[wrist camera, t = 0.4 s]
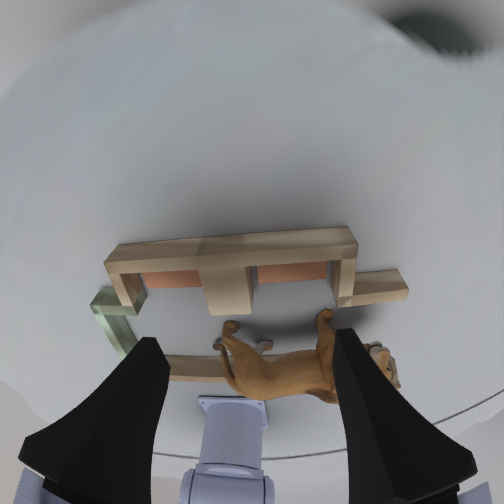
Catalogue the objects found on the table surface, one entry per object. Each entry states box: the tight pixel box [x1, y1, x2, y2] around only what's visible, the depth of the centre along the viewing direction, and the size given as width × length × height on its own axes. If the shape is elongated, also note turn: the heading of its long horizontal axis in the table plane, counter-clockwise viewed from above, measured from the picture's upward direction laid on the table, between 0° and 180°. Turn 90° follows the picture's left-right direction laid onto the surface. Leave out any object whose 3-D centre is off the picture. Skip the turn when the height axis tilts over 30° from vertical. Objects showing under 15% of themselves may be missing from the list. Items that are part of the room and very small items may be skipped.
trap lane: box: [90, 227, 409, 383], centre depth 21 cm, size 14×25×3 cm, turn 96°
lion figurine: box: [213, 309, 401, 404], centre depth 19 cm, size 15×5×9 cm, turn 109°
